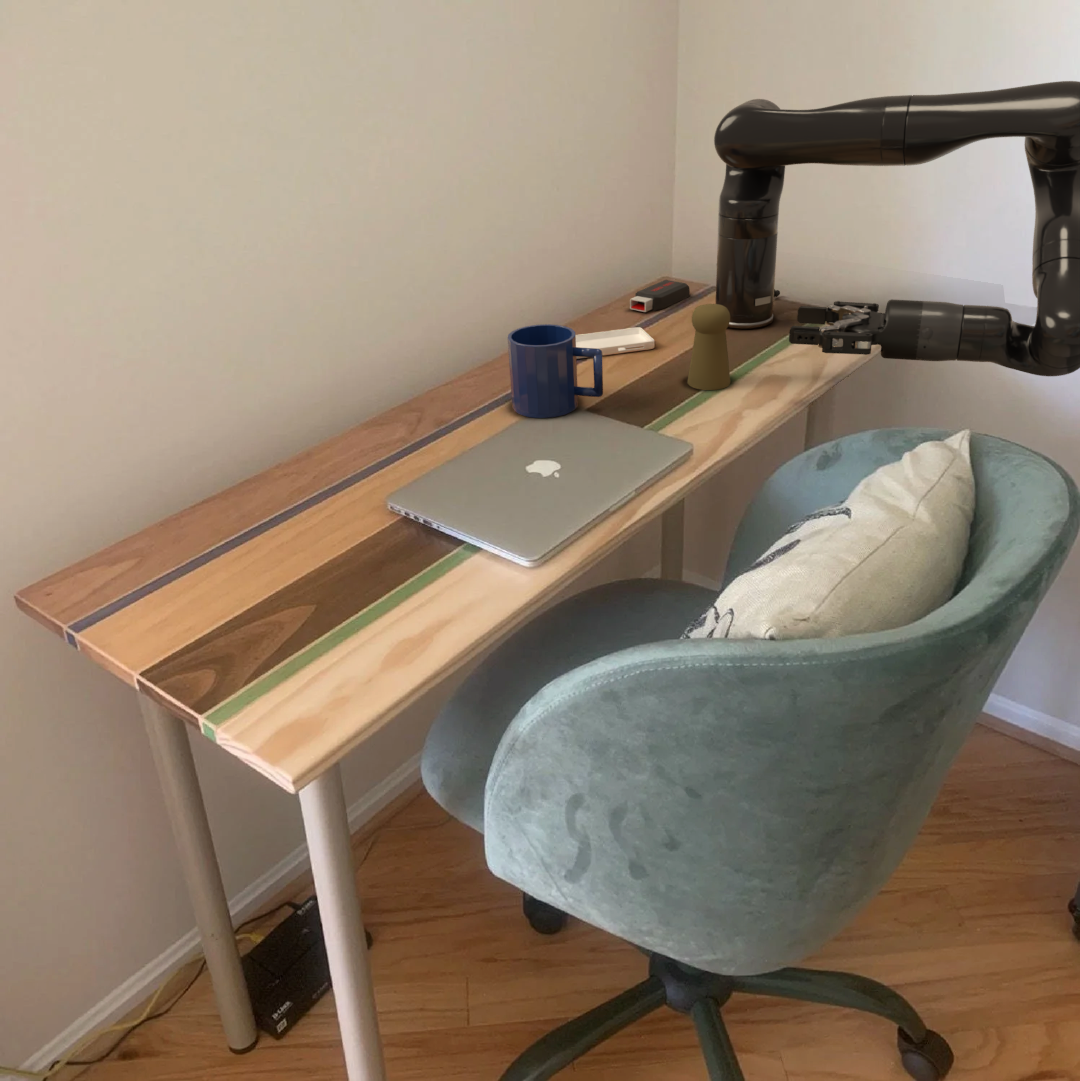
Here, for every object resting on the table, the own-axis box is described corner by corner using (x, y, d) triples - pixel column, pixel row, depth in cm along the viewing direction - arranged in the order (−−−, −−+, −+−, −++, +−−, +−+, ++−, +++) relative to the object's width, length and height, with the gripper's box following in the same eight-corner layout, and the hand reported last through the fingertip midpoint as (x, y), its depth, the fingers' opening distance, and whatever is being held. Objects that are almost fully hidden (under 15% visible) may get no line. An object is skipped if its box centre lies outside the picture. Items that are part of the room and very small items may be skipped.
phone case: (640, 334, 166) (549, 346, 163) (640, 326, 165) (549, 337, 162) (655, 348, 160) (561, 361, 157) (655, 340, 159) (561, 352, 156)
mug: (502, 415, 140) (497, 343, 135) (525, 390, 147) (521, 322, 142) (593, 423, 136) (591, 350, 131) (612, 397, 143) (611, 327, 138)
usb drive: (689, 296, 182) (690, 280, 181) (650, 314, 174) (650, 298, 173) (665, 291, 185) (665, 276, 184) (625, 309, 177) (625, 293, 176)
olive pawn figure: (729, 374, 149) (732, 298, 143) (731, 389, 144) (735, 312, 138) (686, 374, 149) (688, 299, 144) (687, 390, 144) (689, 313, 139)
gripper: (916, 377, 129) (784, 369, 135) (920, 340, 141) (798, 334, 146) (923, 319, 126) (788, 312, 131) (927, 286, 137) (802, 281, 142)
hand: (793, 324), depth 138 cm, fingers open, 8 cm apart
